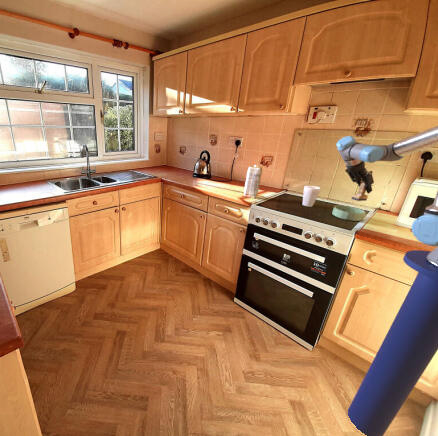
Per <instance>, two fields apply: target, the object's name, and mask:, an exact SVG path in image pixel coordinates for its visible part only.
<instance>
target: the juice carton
mask: <svg viewBox="0 0 438 436" xmlns="http://www.w3.org/2000/svg"><path fill="white" fill-rule="evenodd" d="M262 174H263V166H259V165H258V164H254V165H250V166H249V167H248V170H247V172H246V177H245V178H246V179H245V183H244V189H243V196H244V197H245V198H250V199H255V198H256V197H257V196H258V193H259V189H260V185H261V179H262Z"/></svg>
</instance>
